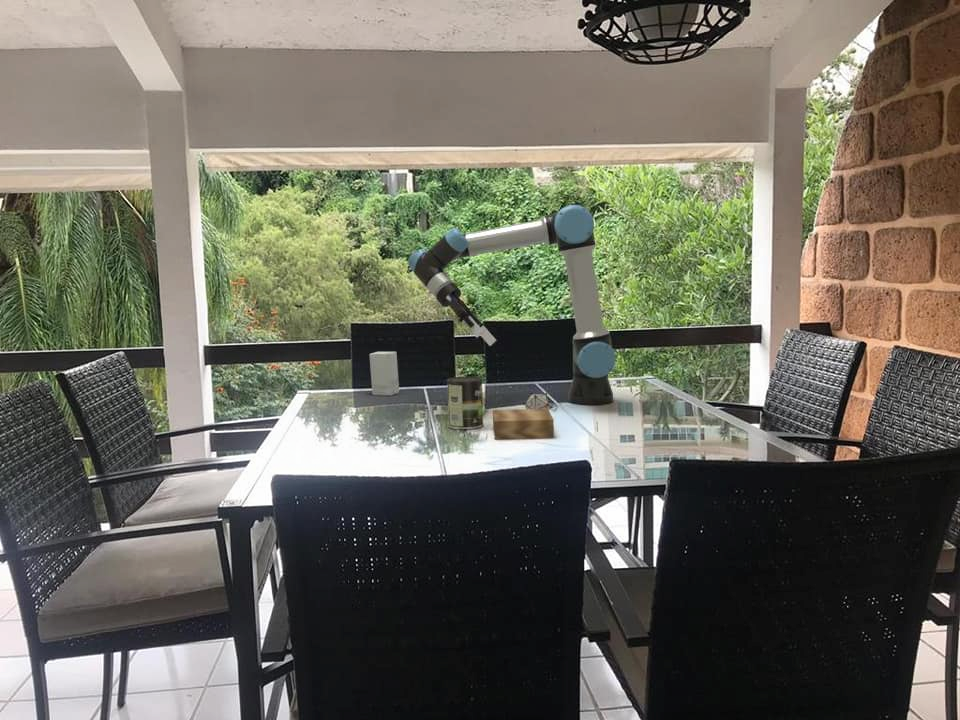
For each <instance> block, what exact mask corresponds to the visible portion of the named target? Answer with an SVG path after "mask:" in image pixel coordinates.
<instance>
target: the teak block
mask: <svg viewBox="0 0 960 720" xmlns="http://www.w3.org/2000/svg"><path fill="white" fill-rule="evenodd" d="M554 422H555V421H554V418H553V416H552V414H551V412H550V410H548V408H545V409H527V408H519V409H518V408H516V409H513V408H512V409H493V410H492V427H493V435H494V436H495V437H494V436H493V437H494V440H520V439H521V440H522V439H524V440H527V439H554V436H555V431H554V430H555V429H554V428H555V426H554V425H555V424H554Z"/></svg>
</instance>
